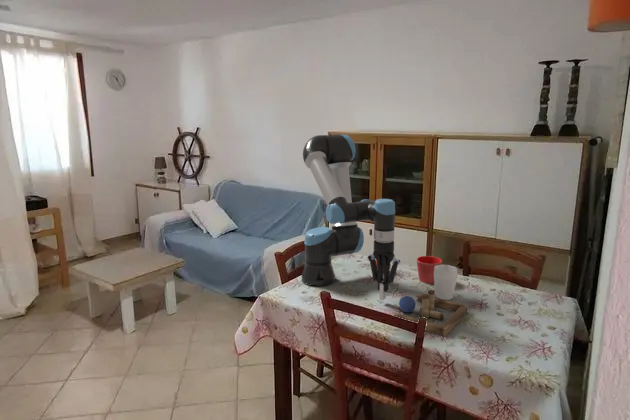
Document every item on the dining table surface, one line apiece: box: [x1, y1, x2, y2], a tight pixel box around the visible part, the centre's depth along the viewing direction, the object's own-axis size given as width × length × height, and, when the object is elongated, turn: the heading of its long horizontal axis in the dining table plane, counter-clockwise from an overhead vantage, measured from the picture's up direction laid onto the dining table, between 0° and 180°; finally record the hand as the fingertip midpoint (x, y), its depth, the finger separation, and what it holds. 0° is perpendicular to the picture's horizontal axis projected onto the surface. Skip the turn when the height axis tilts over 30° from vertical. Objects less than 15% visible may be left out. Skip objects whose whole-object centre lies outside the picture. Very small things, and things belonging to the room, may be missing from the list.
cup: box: [433, 264, 458, 301], centre depth 167 cm, size 9×9×12 cm
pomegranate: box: [375, 259, 392, 274], centre depth 196 cm, size 7×7×10 cm
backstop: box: [392, 293, 468, 338], centre depth 151 cm, size 19×22×2 cm
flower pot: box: [416, 255, 443, 284], centre depth 184 cm, size 11×11×10 cm
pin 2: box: [427, 289, 436, 311], centre depth 153 cm, size 2×2×9 cm
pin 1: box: [421, 293, 429, 320], centre depth 149 cm, size 2×2×9 cm
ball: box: [398, 295, 417, 314], centre depth 155 cm, size 6×6×6 cm
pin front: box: [418, 306, 445, 321], centre depth 151 cm, size 2×2×9 cm
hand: (382, 298), depth 162 cm, fingers closed
